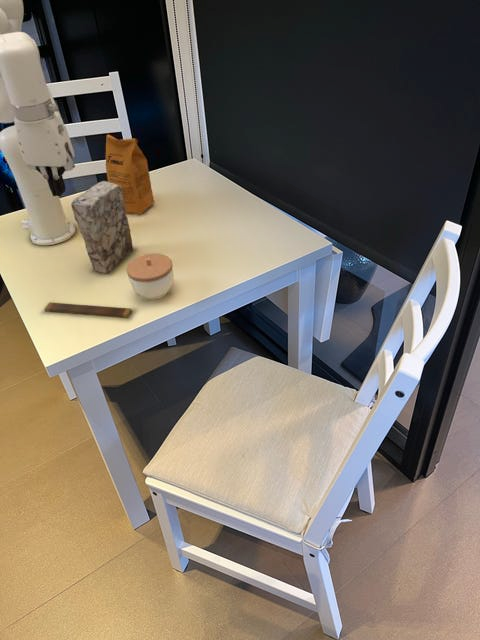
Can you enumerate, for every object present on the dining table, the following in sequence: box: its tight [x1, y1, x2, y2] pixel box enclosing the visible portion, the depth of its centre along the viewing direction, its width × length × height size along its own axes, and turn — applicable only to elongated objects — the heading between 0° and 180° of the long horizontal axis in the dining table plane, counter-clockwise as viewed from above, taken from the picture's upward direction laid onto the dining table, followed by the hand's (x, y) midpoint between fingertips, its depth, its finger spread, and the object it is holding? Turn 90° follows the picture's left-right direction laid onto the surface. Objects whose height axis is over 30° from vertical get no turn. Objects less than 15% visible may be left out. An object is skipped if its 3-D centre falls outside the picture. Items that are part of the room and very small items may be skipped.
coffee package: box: [105, 133, 155, 215], centre depth 155 cm, size 10×12×22 cm
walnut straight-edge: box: [44, 302, 133, 319], centre depth 121 cm, size 21×2×1 cm, turn 78°
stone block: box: [70, 180, 134, 274], centre depth 132 cm, size 13×7×20 cm, turn 161°
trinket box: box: [125, 253, 174, 300], centre depth 123 cm, size 11×11×9 cm
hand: (59, 193), depth 116 cm, fingers closed
